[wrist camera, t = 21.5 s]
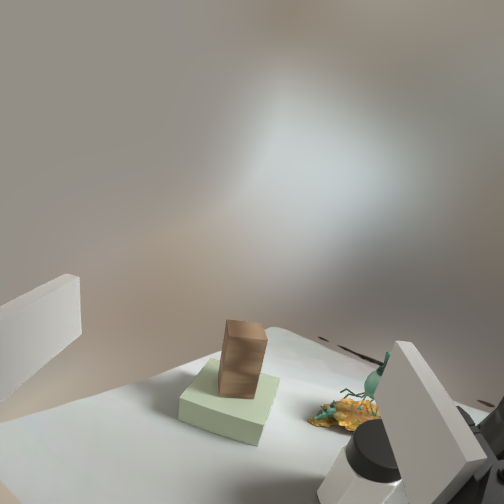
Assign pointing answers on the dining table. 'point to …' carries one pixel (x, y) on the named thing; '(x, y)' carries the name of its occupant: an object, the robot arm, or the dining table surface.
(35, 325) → the robot arm
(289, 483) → the dining table surface
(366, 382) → the green insect figurine
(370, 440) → the jar
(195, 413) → the sage block
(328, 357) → the dining table surface
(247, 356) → the walnut block
